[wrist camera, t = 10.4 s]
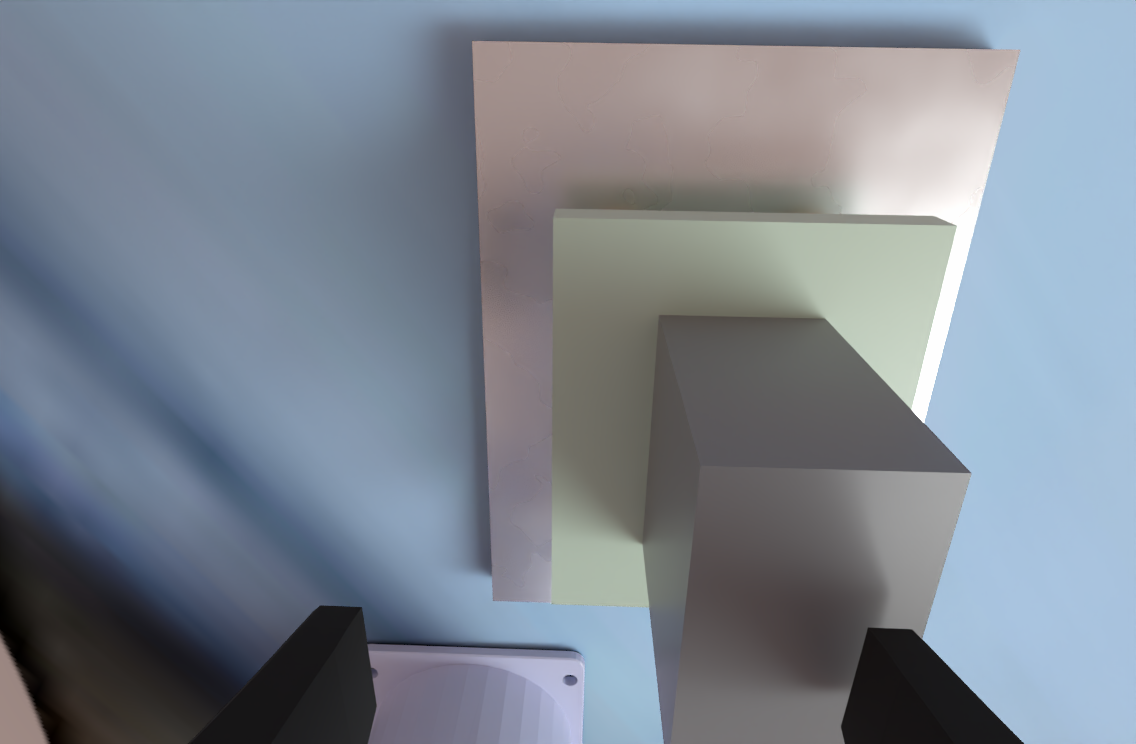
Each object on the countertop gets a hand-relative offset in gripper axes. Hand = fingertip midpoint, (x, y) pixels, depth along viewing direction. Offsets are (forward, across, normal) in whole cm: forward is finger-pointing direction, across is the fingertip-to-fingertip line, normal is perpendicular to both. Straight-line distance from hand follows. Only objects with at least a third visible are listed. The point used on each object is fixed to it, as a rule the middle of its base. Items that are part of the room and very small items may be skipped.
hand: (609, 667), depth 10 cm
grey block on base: (+7, -3, 0) cm, 8 cm away
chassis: (+10, -3, 0) cm, 11 cm away
